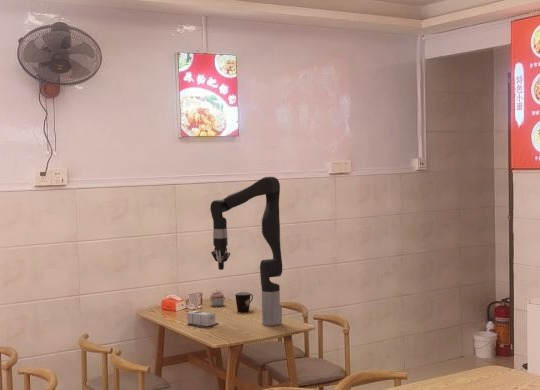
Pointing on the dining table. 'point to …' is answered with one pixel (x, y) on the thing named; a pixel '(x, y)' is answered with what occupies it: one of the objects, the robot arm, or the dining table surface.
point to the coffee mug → (243, 301)
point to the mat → (200, 325)
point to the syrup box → (201, 318)
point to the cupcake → (217, 298)
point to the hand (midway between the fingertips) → (221, 269)
